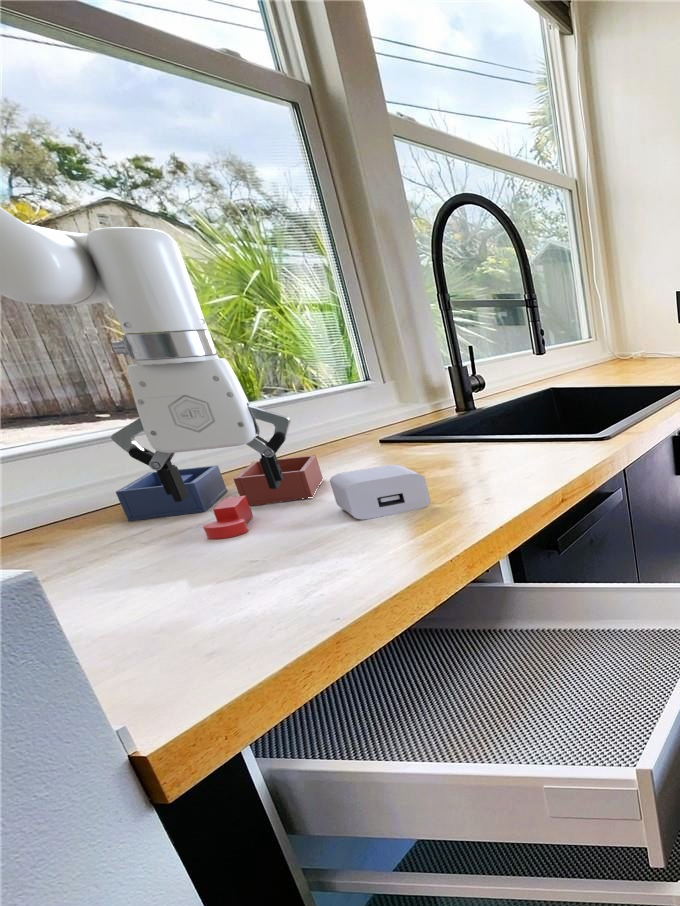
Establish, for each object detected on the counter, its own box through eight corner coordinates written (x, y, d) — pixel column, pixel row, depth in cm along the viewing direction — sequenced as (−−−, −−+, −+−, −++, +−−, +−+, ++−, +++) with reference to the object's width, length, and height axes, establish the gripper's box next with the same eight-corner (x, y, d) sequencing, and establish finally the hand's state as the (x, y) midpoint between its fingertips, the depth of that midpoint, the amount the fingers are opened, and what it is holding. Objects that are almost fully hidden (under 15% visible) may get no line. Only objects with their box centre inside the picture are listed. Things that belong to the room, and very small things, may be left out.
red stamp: (244, 535, 83) (236, 513, 82) (203, 541, 82) (194, 518, 80) (261, 515, 92) (253, 494, 90) (224, 519, 90) (216, 499, 89)
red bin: (243, 506, 96) (233, 478, 94) (261, 487, 107) (252, 461, 105) (312, 498, 99) (304, 470, 98) (323, 480, 110) (315, 455, 108)
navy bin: (128, 521, 91) (115, 491, 89) (159, 499, 102) (148, 472, 100) (205, 511, 94) (194, 482, 93) (227, 491, 105) (218, 465, 103)
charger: (398, 488, 103) (432, 506, 93) (327, 501, 97) (355, 522, 87) (390, 457, 101) (423, 471, 91) (317, 468, 95) (344, 485, 85)
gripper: (61, 356, 73) (132, 512, 80) (257, 344, 80) (306, 488, 87) (89, 353, 80) (152, 497, 86) (269, 342, 86) (314, 477, 93)
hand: (230, 493), depth 87 cm, fingers open, 9 cm apart
